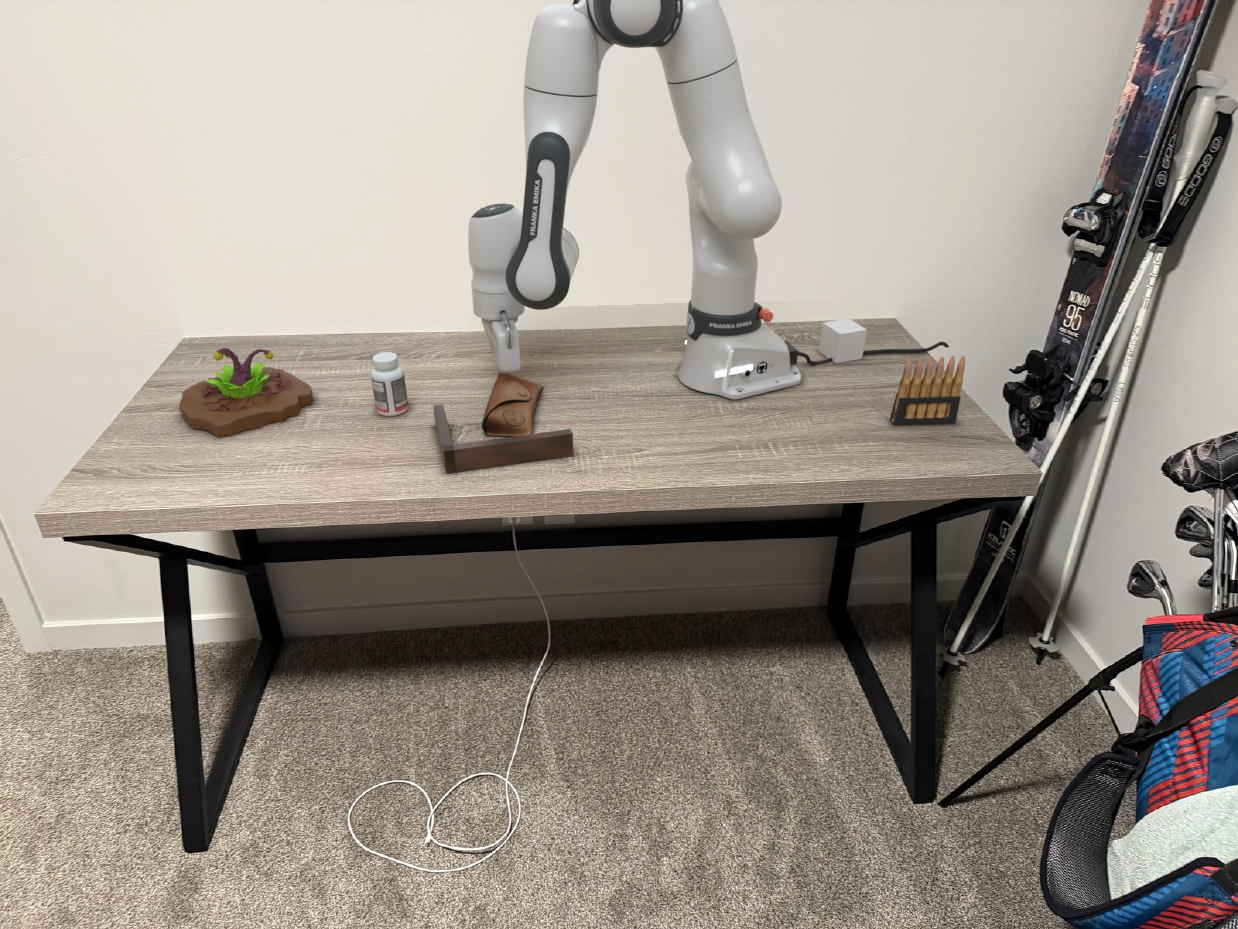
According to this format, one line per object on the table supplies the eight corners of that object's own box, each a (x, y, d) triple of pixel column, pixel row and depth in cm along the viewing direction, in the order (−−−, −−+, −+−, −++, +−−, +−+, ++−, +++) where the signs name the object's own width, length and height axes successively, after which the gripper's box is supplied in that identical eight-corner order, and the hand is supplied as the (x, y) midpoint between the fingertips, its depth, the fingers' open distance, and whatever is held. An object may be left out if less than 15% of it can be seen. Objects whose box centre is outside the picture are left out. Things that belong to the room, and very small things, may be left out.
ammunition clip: (951, 418, 144) (966, 353, 138) (955, 423, 142) (971, 357, 136) (889, 420, 143) (902, 354, 137) (893, 425, 142) (906, 359, 135)
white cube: (835, 363, 162) (840, 334, 159) (818, 351, 167) (822, 322, 164) (862, 358, 164) (867, 329, 161) (844, 346, 169) (848, 318, 166)
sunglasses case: (534, 434, 137) (511, 402, 134) (498, 452, 139) (475, 421, 136) (544, 384, 152) (524, 354, 149) (512, 401, 154) (491, 372, 151)
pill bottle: (406, 400, 148) (399, 348, 143) (410, 414, 144) (403, 361, 138) (374, 405, 146) (366, 352, 141) (378, 419, 142) (369, 365, 137)
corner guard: (552, 411, 145) (551, 390, 143) (573, 456, 132) (572, 433, 130) (435, 426, 140) (433, 405, 138) (446, 474, 128) (443, 451, 126)
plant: (162, 405, 145) (143, 345, 139) (270, 370, 157) (257, 313, 151) (216, 447, 134) (198, 383, 128) (328, 405, 146) (316, 345, 140)
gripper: (528, 322, 138) (531, 398, 145) (507, 280, 155) (511, 350, 162) (489, 326, 136) (494, 402, 144) (472, 283, 153) (478, 353, 160)
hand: (503, 374), depth 153 cm, fingers closed
